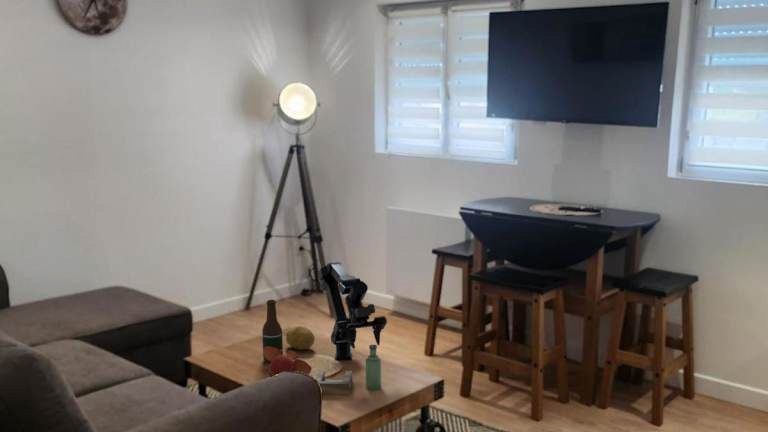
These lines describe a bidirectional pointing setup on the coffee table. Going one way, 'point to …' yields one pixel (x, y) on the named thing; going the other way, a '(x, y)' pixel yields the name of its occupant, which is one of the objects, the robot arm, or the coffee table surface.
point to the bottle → (373, 370)
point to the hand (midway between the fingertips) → (366, 346)
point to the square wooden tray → (335, 384)
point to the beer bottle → (272, 329)
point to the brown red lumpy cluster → (284, 361)
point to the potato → (300, 338)
